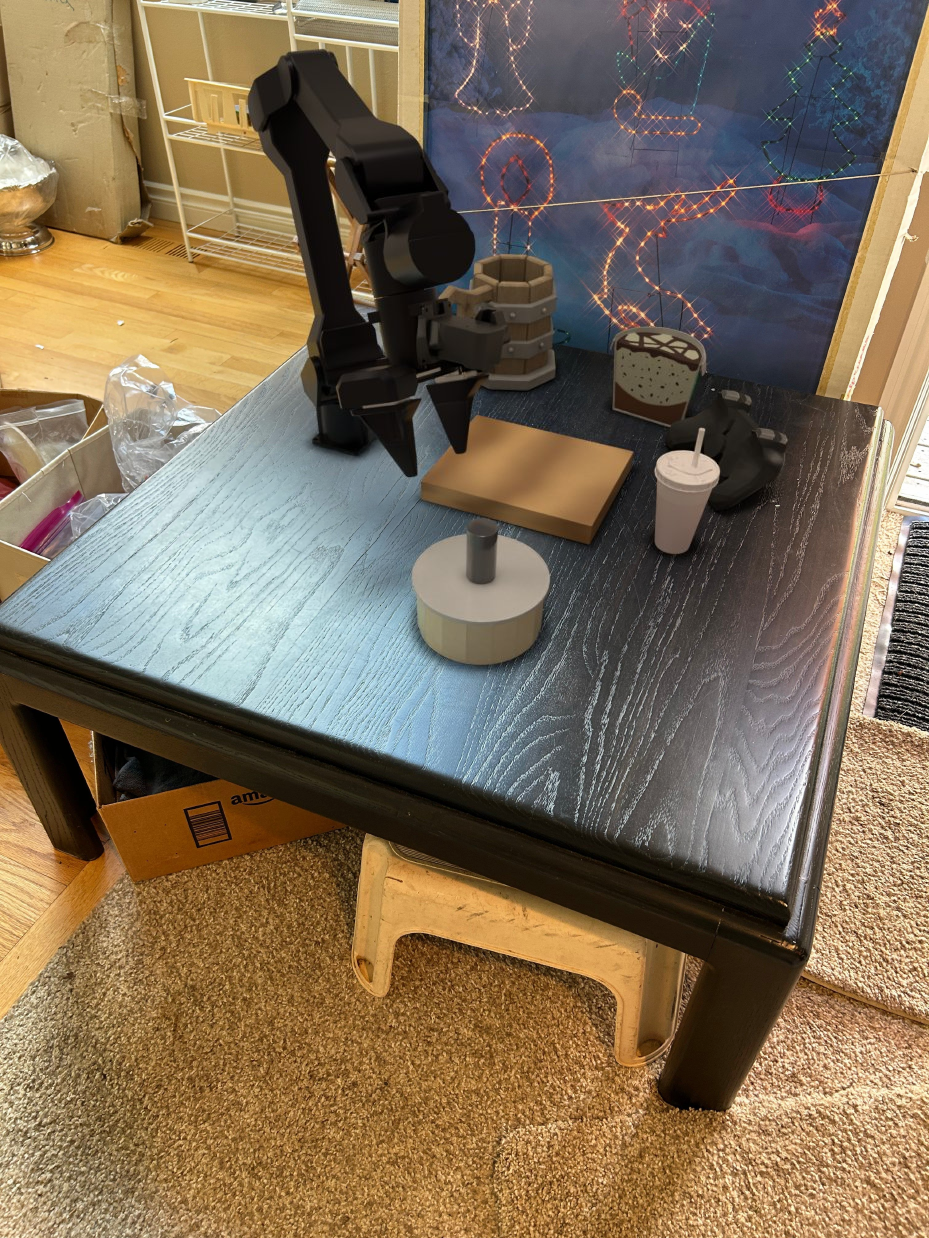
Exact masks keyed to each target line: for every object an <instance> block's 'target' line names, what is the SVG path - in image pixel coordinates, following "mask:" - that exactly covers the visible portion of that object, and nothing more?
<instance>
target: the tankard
mask: <svg viewBox="0 0 929 1238" xmlns="http://www.w3.org/2000/svg"><path fill="white" fill-rule="evenodd" d="M473 264H474V266H473V278H472V279H470V280H469V289H464V288H459V287H456V286H454V285H450V284H449V285H448V286H447V287H446V288H445V289H444V290H443V291H442V293H441V294H440V295H438V299H443V298H448V301H450V302H451V304H452V306H453V305H454V304H456V315H455V316H460V317H469V316H470V317H473V319H475V317H476V315H477V314H478V312H479V311H480V310H481V309H484V308H489V307H490V308H495V309H499V310H502V311H503V314H504V318H505V321H506V325H507V326H508V334H509V335H510V337H511V340H510V342H509V343H507V344H504V345H503V347H502V354H501V361H500V364H498V365H495V368H494V369H491V370H488V371H485V372H480V373H478V372H477V371H476V372H477V375H484V374H489V377H488V379H487V380H485V381H484V382H483V384H482V385H481V387H484V388H486V389H488V390H490V391H491V390H492V391H520V392H523V391H525V392H527V391H528V392H529V391H530V390H532V389H534V388H536V387H538V386H540V385H543V384H545V383H547V382H549V381H552V380H553V379H555V378H556V357H555V351H554V349H553V341H554V334H555V332H556V331H555V329H554V324H553V317H551V316H552V315H554V314H556V307H557V300H558V295H557V290H556V282H555V281H554V268H553V265H552V264H551V263H550V262H548V261H545V260H543V259H540V258H537V257H535V256H533V255H531V254H530V255H527V254H515V253H514V254H510V253H498V254H494V255H491V256H488V257H485V258H482V259H480V260H478V261H476V262H474V263H473Z"/></svg>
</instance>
